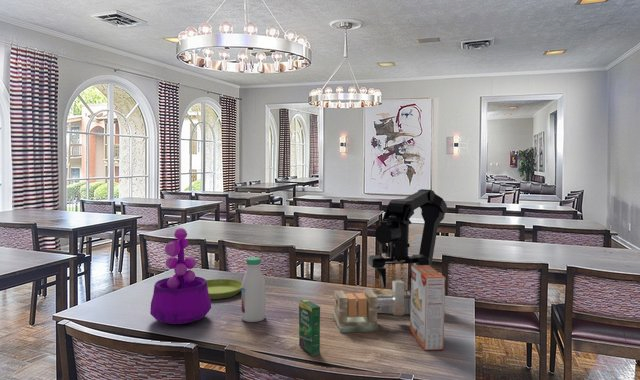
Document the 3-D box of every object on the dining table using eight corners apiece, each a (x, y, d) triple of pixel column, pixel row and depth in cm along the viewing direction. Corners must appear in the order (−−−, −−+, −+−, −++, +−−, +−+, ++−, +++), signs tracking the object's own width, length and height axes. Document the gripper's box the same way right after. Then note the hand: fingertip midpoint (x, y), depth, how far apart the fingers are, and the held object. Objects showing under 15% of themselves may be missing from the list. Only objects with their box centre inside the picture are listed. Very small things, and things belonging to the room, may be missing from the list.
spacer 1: (352, 310, 146) (352, 293, 146) (356, 317, 140) (356, 298, 140) (344, 311, 146) (344, 293, 145) (348, 317, 140) (348, 299, 140)
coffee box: (366, 287, 163) (411, 289, 161) (366, 304, 164) (411, 306, 162) (366, 294, 154) (414, 297, 152) (366, 313, 154) (413, 315, 153)
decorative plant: (187, 335, 133) (186, 234, 131) (137, 326, 140) (135, 230, 138) (222, 314, 151) (222, 225, 149) (176, 307, 157) (175, 222, 155)
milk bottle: (269, 316, 150) (269, 257, 149) (258, 324, 143) (259, 261, 141) (248, 313, 153) (248, 255, 151) (237, 321, 145) (237, 259, 144)
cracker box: (408, 331, 138) (410, 264, 137) (427, 331, 139) (429, 264, 137) (422, 351, 124) (425, 276, 123) (444, 350, 125) (446, 276, 123)
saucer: (254, 291, 178) (254, 283, 178) (216, 305, 161) (216, 296, 161) (216, 283, 189) (216, 275, 189) (177, 295, 172) (177, 287, 172)
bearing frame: (368, 317, 150) (369, 287, 150) (378, 330, 139) (379, 298, 138) (333, 318, 149) (333, 288, 148) (340, 332, 137) (340, 300, 136)
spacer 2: (361, 310, 147) (362, 292, 146) (366, 316, 141) (366, 298, 141) (354, 310, 146) (354, 293, 146) (358, 316, 141) (359, 298, 140)
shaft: (400, 311, 147) (401, 280, 147) (403, 315, 144) (404, 282, 144) (338, 314, 144) (339, 282, 143) (340, 317, 141) (341, 284, 140)
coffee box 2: (297, 345, 127) (298, 299, 126) (306, 343, 129) (307, 298, 128) (310, 356, 120) (311, 308, 119) (320, 354, 121) (321, 306, 121)
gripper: (418, 234, 153) (417, 279, 154) (364, 235, 151) (363, 281, 152) (431, 240, 142) (429, 289, 143) (373, 241, 140) (372, 291, 141)
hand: (398, 287), depth 145 cm, fingers open, 9 cm apart
